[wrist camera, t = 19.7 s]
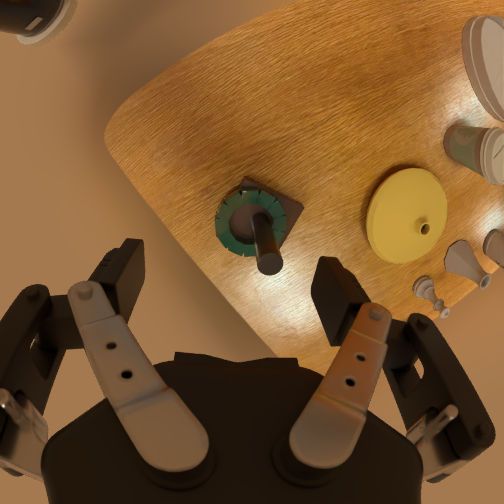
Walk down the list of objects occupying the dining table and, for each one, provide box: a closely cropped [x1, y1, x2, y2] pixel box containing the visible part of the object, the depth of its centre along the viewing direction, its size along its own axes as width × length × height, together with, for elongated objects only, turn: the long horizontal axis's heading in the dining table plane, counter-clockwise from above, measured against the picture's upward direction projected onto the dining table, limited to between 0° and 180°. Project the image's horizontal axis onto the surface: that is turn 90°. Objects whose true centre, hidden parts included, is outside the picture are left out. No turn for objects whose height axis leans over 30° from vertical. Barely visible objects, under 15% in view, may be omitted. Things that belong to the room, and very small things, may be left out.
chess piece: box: [413, 276, 450, 318], centre depth 43 cm, size 4×4×10 cm
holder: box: [216, 176, 304, 275], centre depth 34 cm, size 9×9×13 cm
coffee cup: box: [444, 126, 504, 185], centre depth 30 cm, size 8×9×12 cm
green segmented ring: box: [215, 187, 287, 257], centre depth 37 cm, size 9×9×2 cm
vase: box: [366, 168, 447, 264], centre depth 37 cm, size 16×16×7 cm
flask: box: [445, 240, 491, 289], centre depth 41 cm, size 7×7×10 cm
